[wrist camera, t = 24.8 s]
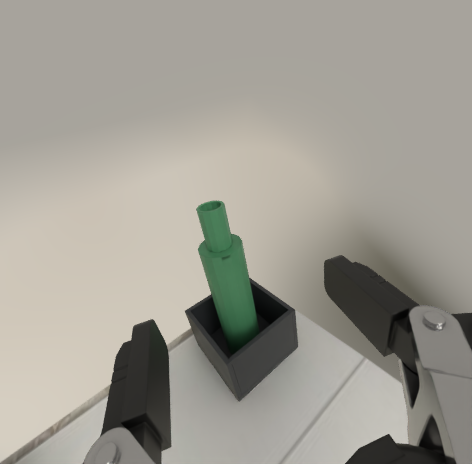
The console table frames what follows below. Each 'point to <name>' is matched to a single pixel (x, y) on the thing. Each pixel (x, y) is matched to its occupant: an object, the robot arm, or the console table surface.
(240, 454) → the console table surface
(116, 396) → the robot arm
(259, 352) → the bin
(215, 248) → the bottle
